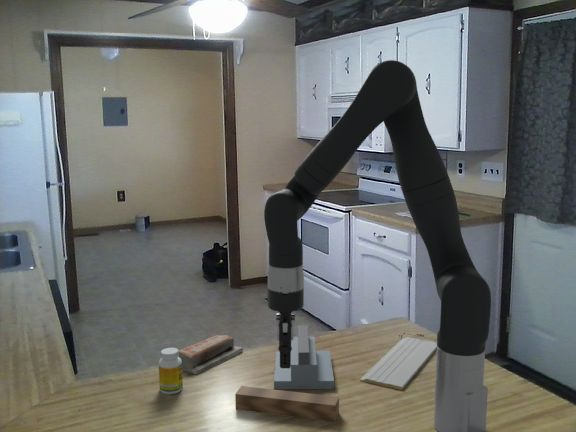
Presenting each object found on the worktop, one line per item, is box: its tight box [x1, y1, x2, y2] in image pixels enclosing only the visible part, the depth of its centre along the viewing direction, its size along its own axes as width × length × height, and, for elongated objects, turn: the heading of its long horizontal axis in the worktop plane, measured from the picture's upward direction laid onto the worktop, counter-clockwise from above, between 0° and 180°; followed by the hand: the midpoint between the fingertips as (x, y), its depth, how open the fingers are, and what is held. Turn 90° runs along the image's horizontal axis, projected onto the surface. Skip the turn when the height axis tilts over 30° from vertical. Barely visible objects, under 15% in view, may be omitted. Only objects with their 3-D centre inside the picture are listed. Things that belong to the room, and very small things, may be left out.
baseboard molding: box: [359, 332, 437, 391], centre depth 152 cm, size 31×3×12 cm
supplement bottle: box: [158, 347, 184, 395], centre depth 137 cm, size 5×5×10 cm
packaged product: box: [178, 334, 244, 375], centre depth 155 cm, size 18×5×10 cm
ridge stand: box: [273, 325, 335, 390], centre depth 145 cm, size 14×18×9 cm
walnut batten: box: [234, 385, 340, 423], centre depth 127 cm, size 22×4×4 cm, turn 75°
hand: (285, 359), depth 125 cm, fingers open, 8 cm apart
